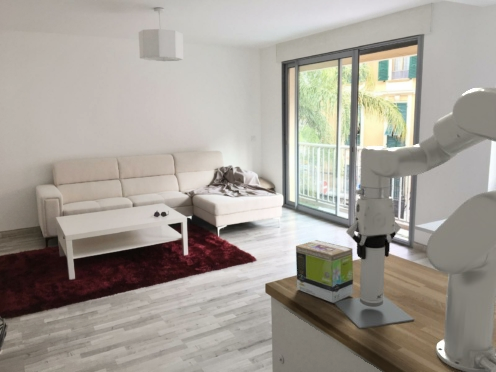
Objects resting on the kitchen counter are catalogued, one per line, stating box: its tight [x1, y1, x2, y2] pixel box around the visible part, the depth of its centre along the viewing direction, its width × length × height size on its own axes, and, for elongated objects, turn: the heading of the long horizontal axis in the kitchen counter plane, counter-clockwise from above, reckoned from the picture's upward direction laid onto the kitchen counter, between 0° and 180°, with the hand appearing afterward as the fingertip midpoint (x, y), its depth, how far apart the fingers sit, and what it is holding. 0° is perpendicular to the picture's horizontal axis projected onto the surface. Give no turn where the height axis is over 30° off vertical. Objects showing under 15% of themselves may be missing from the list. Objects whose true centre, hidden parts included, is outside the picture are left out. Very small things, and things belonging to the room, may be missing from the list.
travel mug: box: [359, 235, 387, 307], centre depth 115 cm, size 6×7×20 cm
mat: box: [333, 295, 415, 330], centre depth 117 cm, size 16×16×1 cm
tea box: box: [295, 239, 354, 304], centre depth 128 cm, size 15×10×15 cm, turn 38°
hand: (373, 255), depth 114 cm, fingers closed on travel mug, 6 cm apart
